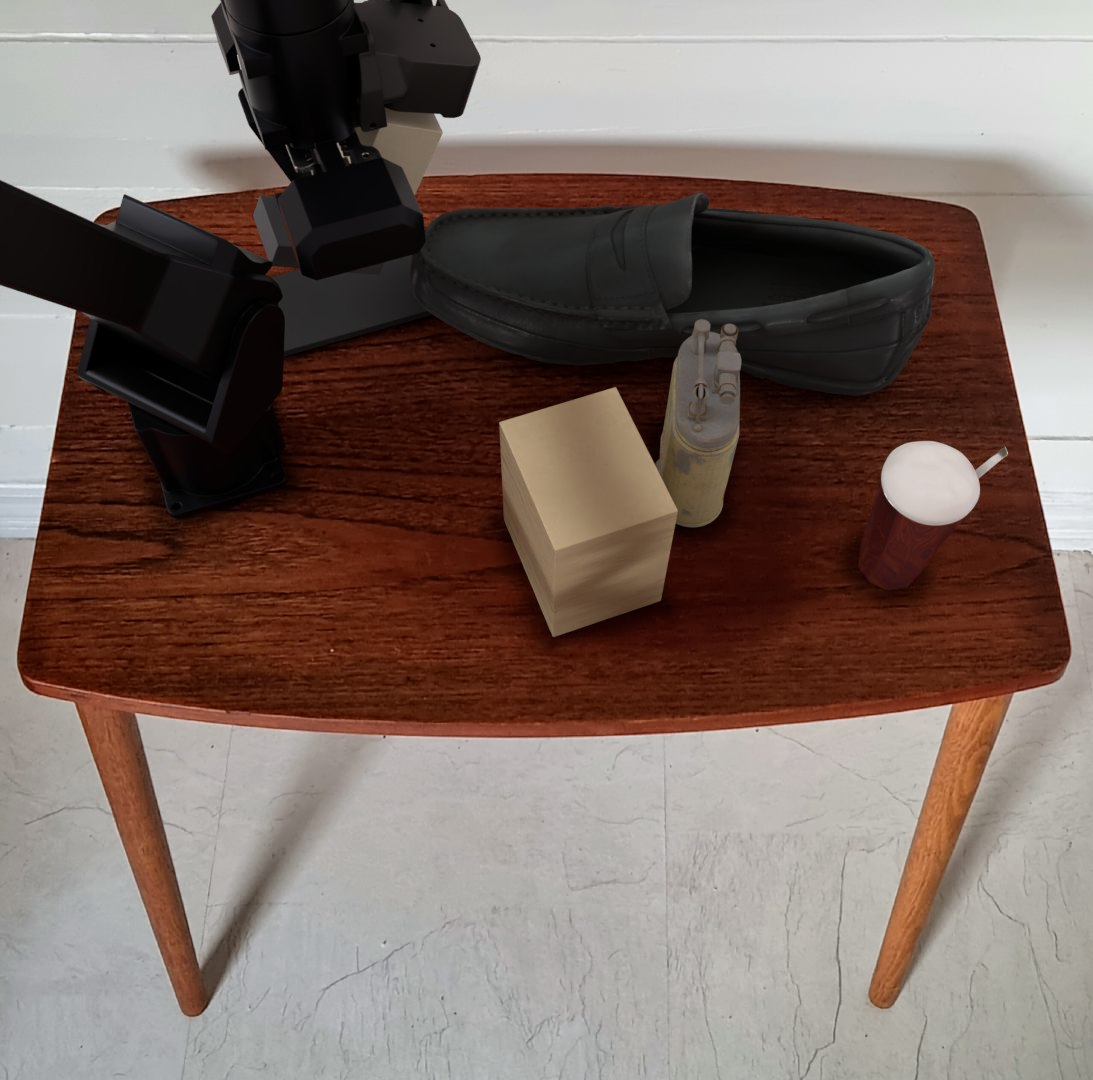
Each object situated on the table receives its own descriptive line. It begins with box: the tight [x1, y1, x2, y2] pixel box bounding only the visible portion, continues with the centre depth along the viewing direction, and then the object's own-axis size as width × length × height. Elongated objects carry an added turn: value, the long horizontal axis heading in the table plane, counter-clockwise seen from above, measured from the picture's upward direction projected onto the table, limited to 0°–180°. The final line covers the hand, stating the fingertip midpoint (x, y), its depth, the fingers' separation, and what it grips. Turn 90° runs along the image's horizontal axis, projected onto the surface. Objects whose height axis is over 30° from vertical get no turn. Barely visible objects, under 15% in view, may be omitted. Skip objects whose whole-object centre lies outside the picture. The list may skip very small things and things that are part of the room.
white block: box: [252, 107, 444, 275], centre depth 65 cm, size 4×6×10 cm, turn 110°
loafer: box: [410, 192, 936, 397], centre depth 68 cm, size 10×29×10 cm, turn 85°
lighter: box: [654, 319, 741, 528], centre depth 63 cm, size 7×4×10 cm, turn 176°
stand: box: [498, 386, 678, 638], centre depth 60 cm, size 6×8×9 cm
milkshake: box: [858, 440, 1009, 591], centre depth 60 cm, size 4×5×10 cm
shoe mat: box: [270, 255, 434, 358], centre depth 73 cm, size 12×6×1 cm, turn 111°
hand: (336, 240), depth 69 cm, fingers closed on white block, 4 cm apart
